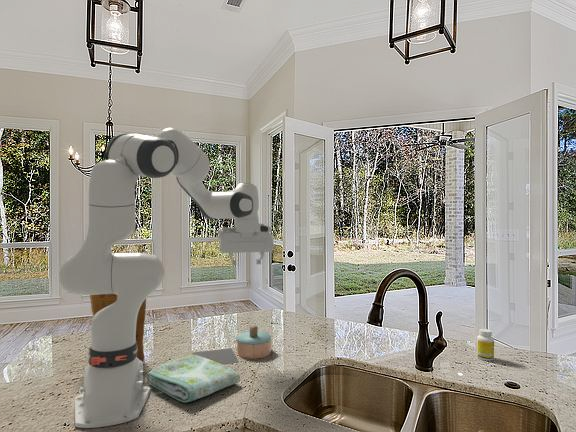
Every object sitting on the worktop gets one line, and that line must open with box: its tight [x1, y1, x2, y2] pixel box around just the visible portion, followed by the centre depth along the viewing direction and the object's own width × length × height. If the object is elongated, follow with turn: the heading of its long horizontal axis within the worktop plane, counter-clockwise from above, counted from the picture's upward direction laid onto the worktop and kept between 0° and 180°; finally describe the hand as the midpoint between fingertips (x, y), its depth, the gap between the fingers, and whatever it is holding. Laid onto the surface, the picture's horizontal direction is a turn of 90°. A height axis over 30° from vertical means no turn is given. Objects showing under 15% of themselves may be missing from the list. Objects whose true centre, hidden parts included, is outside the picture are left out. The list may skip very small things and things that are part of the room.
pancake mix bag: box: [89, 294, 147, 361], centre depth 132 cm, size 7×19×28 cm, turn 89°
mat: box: [192, 348, 240, 365], centre depth 133 cm, size 14×14×1 cm
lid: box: [235, 324, 272, 345], centre depth 139 cm, size 12×12×4 cm
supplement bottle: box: [476, 328, 495, 362], centre depth 135 cm, size 5×5×10 cm
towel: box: [147, 354, 241, 403], centre depth 112 cm, size 18×21×5 cm
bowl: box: [235, 339, 272, 359], centre depth 139 cm, size 12×12×5 cm
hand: (246, 264), depth 144 cm, fingers open, 8 cm apart
